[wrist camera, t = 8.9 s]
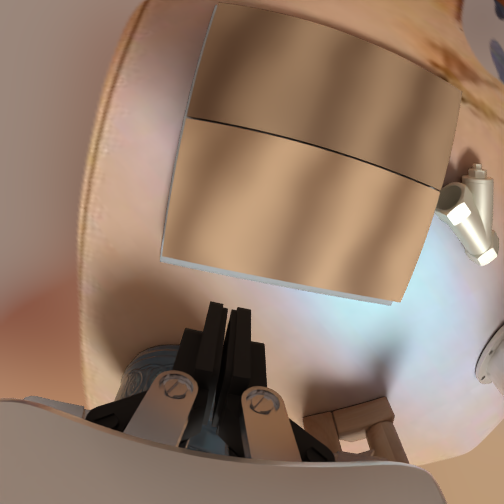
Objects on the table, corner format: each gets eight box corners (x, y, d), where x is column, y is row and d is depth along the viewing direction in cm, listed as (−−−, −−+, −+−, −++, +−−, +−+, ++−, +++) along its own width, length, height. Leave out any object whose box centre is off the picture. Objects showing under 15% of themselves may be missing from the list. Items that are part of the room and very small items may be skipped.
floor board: (451, 92, 18) (462, 91, 17) (430, 186, 22) (440, 190, 20) (220, 10, 16) (218, 2, 15) (190, 117, 20) (186, 116, 18)
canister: (123, 328, 27) (49, 484, 10) (254, 352, 28) (263, 530, 11) (131, 408, 31) (95, 529, 15) (234, 426, 32) (232, 555, 16)
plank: (430, 188, 22) (440, 192, 20) (393, 294, 25) (400, 302, 23) (190, 120, 20) (186, 118, 18) (166, 249, 23) (161, 256, 21)
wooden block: (302, 416, 32) (324, 549, 15) (386, 394, 31) (435, 513, 14) (304, 431, 33) (325, 553, 16) (383, 410, 33) (425, 522, 16)
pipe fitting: (460, 153, 21) (426, 207, 23) (488, 156, 18) (453, 217, 19) (495, 207, 23) (464, 257, 25) (520, 216, 20) (489, 270, 21)
